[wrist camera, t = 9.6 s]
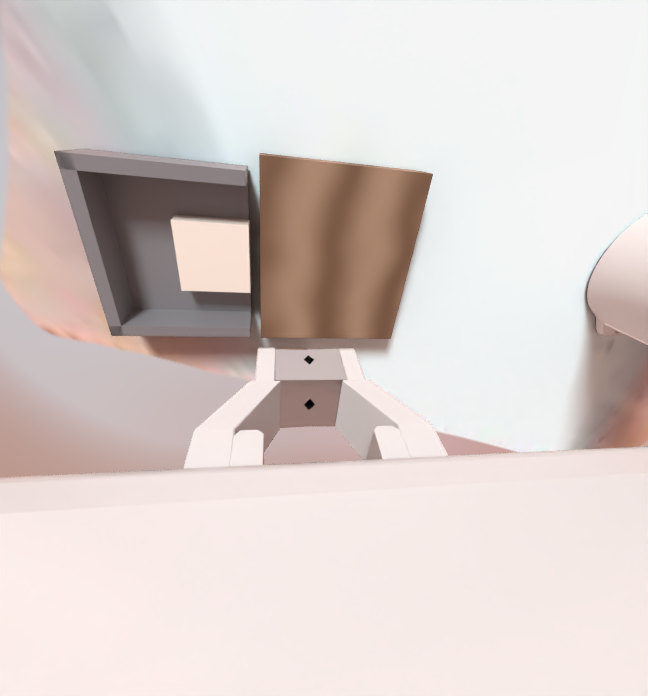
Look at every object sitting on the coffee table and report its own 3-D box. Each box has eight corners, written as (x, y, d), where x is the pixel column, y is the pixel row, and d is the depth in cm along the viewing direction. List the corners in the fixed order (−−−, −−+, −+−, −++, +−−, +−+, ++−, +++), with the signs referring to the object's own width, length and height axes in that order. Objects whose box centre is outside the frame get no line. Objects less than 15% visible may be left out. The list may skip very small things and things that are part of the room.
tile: (249, 219, 28) (248, 225, 26) (251, 284, 31) (250, 292, 29) (176, 214, 26) (170, 219, 25) (186, 282, 30) (181, 290, 28)
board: (420, 171, 28) (432, 174, 26) (383, 327, 37) (390, 338, 35) (260, 153, 25) (259, 154, 23) (261, 325, 34) (260, 337, 32)
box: (247, 165, 26) (245, 170, 23) (251, 317, 33) (250, 336, 30) (83, 148, 24) (54, 151, 20) (127, 314, 31) (111, 335, 28)
